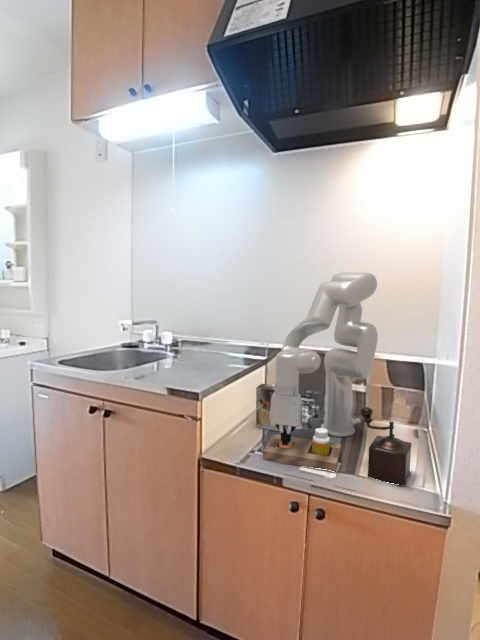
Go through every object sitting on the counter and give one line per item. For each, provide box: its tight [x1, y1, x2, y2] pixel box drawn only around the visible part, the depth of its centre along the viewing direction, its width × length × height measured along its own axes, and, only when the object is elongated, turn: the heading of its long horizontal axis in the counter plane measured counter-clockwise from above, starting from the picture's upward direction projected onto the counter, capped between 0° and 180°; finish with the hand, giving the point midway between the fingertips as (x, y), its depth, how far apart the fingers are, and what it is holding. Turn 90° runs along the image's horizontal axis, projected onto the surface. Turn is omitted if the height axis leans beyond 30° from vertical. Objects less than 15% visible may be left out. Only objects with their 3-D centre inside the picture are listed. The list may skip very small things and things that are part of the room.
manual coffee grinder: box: [360, 406, 412, 487], centre depth 115 cm, size 16×11×18 cm
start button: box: [279, 441, 292, 449], centre depth 127 cm, size 4×4×3 cm
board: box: [262, 433, 342, 473], centre depth 125 cm, size 23×14×3 cm, turn 70°
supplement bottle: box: [311, 427, 331, 457], centre depth 123 cm, size 5×5×10 cm
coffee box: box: [255, 383, 280, 432], centre depth 149 cm, size 9×6×16 cm
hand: (285, 443), depth 127 cm, fingers closed
